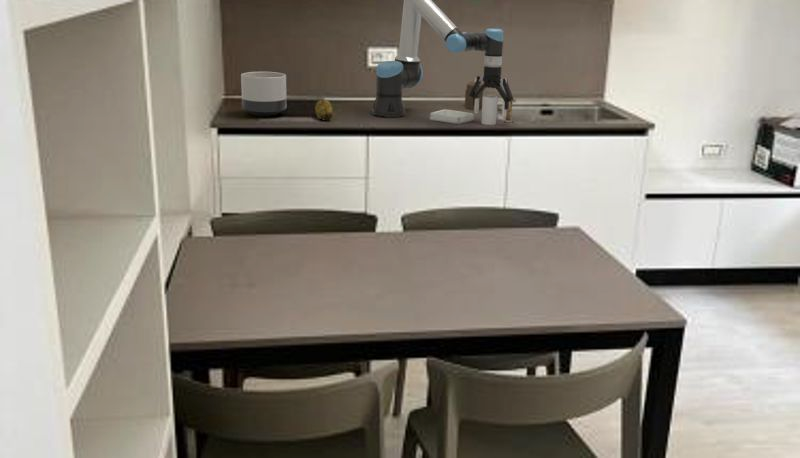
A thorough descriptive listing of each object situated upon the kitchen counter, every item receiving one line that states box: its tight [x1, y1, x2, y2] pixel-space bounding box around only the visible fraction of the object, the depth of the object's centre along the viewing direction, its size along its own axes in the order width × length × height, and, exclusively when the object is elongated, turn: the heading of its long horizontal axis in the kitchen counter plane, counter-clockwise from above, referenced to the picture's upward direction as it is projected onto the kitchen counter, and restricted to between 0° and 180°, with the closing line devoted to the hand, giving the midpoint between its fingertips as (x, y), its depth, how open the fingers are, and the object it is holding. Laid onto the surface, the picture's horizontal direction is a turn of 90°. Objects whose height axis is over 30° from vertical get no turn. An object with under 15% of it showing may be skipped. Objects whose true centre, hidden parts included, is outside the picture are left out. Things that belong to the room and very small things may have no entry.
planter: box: [240, 71, 287, 117], centre depth 345 cm, size 19×19×18 cm
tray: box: [429, 108, 475, 125], centre depth 350 cm, size 15×13×3 cm
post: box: [503, 98, 517, 122], centre depth 350 cm, size 5×4×10 cm
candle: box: [464, 77, 484, 111], centre depth 380 cm, size 14×14×15 cm
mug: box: [481, 94, 499, 126], centre depth 345 cm, size 10×7×12 cm, turn 168°
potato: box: [314, 99, 334, 121], centre depth 342 cm, size 8×13×8 cm, turn 179°
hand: (490, 115), depth 345 cm, fingers open, 13 cm apart
